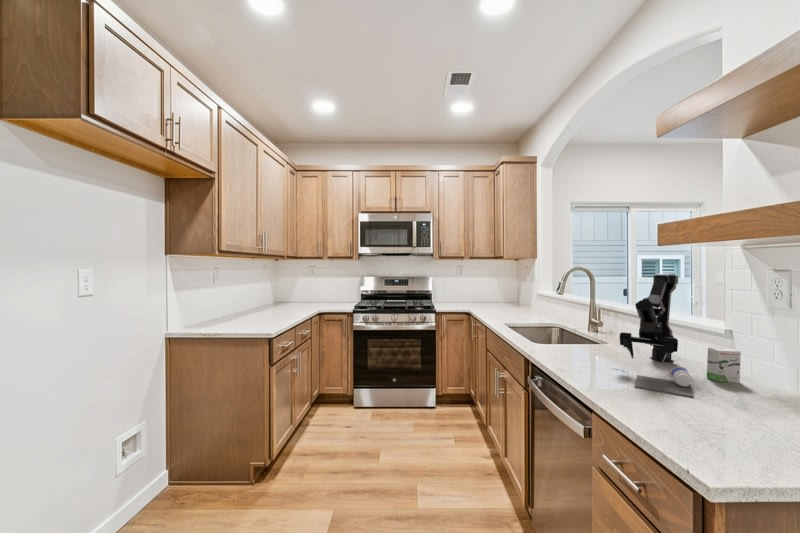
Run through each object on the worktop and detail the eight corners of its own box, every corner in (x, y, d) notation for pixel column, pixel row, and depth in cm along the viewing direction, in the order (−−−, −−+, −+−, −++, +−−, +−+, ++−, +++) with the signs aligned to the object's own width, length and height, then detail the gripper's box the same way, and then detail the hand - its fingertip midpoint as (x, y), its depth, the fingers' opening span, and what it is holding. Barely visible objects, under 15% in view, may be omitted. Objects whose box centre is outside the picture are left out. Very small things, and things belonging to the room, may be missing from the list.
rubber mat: (636, 376, 140) (636, 374, 140) (690, 385, 130) (690, 383, 130) (634, 387, 127) (634, 385, 127) (693, 398, 117) (693, 396, 117)
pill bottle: (666, 371, 135) (669, 377, 127) (680, 363, 133) (684, 369, 125) (678, 384, 133) (682, 391, 125) (693, 376, 131) (697, 383, 123)
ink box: (716, 382, 134) (717, 350, 134) (705, 377, 139) (706, 346, 139) (740, 382, 134) (741, 350, 134) (729, 378, 139) (730, 347, 139)
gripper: (620, 312, 148) (617, 344, 139) (678, 316, 137) (679, 351, 128) (621, 328, 154) (618, 360, 146) (676, 334, 144) (677, 369, 135)
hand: (646, 360), depth 138 cm, fingers open, 9 cm apart
